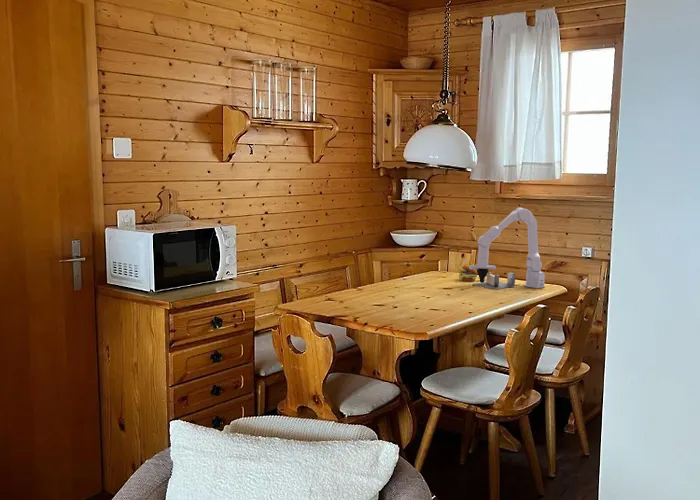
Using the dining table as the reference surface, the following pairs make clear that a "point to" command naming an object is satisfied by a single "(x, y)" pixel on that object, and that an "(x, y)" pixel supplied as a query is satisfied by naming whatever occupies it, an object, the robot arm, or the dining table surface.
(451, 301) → the dining table surface
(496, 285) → the hinge post
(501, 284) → the mat
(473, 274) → the cheeseburger
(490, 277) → the gate
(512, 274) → the stile
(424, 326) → the dining table surface
